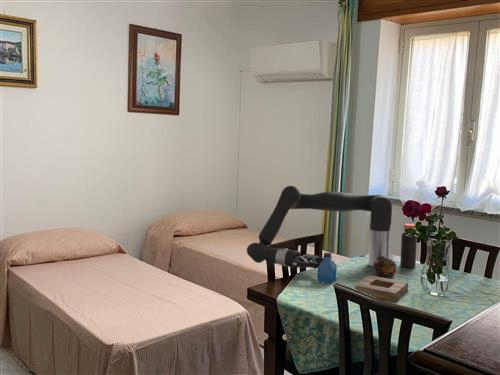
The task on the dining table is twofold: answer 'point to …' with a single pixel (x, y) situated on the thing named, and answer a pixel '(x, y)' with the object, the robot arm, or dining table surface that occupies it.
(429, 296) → the dining table surface
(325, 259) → the perfume bottle
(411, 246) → the vinegar
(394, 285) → the walnut hole block
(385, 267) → the decorative turtle
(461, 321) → the dining table surface
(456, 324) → the dining table surface
